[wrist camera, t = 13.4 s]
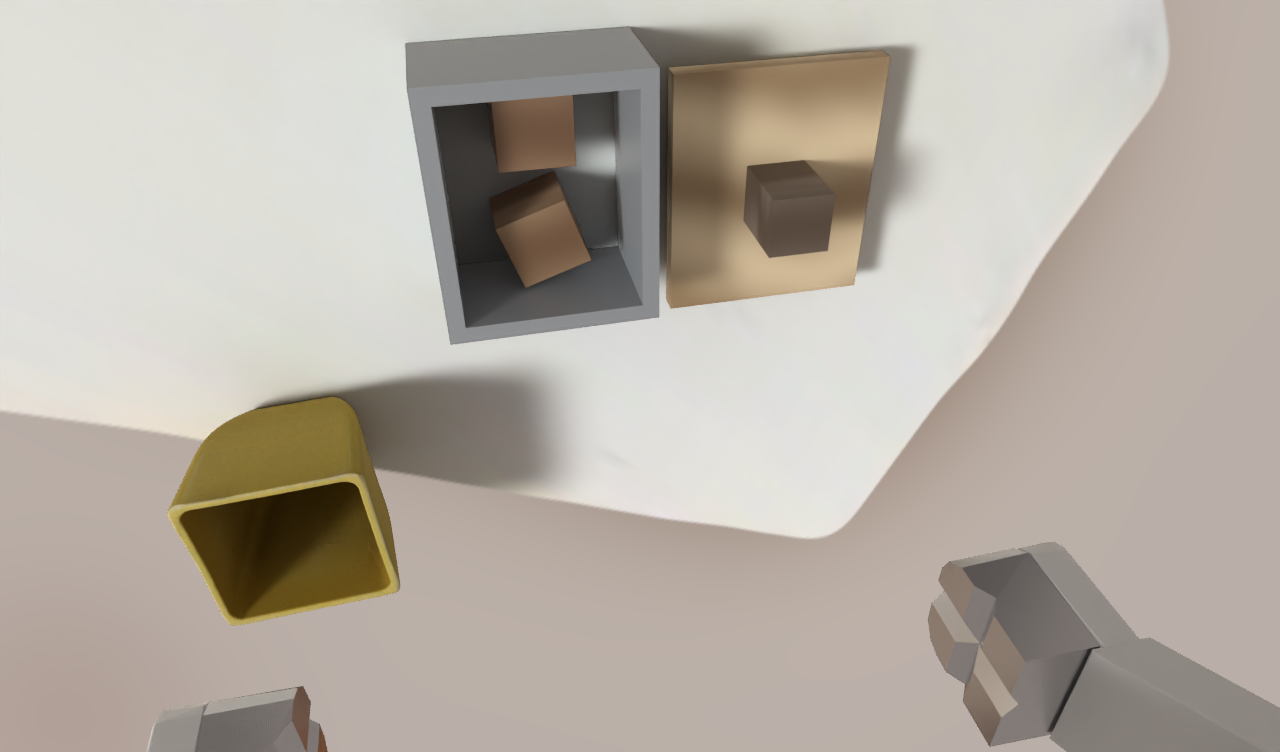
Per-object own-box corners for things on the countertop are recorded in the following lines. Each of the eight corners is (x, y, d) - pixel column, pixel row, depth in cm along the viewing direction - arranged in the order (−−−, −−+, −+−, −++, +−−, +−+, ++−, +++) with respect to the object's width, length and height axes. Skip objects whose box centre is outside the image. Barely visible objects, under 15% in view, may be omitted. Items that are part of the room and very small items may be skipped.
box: (405, 43, 38) (406, 88, 34) (629, 26, 40) (659, 67, 35) (444, 280, 46) (450, 344, 41) (633, 257, 47) (659, 317, 43)
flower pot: (401, 478, 53) (402, 594, 46) (251, 506, 52) (228, 630, 45) (366, 361, 48) (361, 472, 41) (197, 389, 46) (162, 509, 39)
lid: (662, 59, 42) (697, 105, 37) (871, 43, 43) (930, 83, 39) (661, 288, 49) (689, 350, 44) (838, 265, 51) (885, 323, 46)
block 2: (489, 197, 44) (495, 229, 41) (553, 169, 44) (564, 200, 41) (518, 253, 46) (525, 287, 43) (579, 227, 46) (591, 259, 43)
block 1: (484, 69, 40) (490, 95, 37) (560, 63, 41) (572, 89, 38) (492, 143, 42) (498, 172, 39) (564, 137, 43) (575, 165, 40)
